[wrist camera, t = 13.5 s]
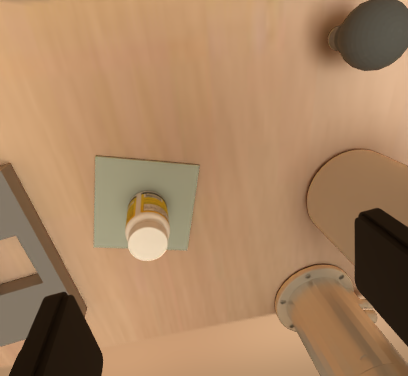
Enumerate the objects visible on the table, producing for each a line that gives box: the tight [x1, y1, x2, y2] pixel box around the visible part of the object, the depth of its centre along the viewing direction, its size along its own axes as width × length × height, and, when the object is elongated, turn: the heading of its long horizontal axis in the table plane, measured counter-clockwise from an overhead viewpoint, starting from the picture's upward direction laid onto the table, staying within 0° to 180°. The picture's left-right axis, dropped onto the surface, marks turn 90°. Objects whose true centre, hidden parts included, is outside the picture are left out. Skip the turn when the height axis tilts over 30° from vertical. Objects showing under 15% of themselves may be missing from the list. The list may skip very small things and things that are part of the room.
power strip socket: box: [0, 163, 87, 347], centre depth 38 cm, size 22×11×3 cm, turn 14°
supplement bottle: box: [125, 191, 170, 261], centre depth 36 cm, size 5×5×8 cm
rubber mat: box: [94, 156, 200, 250], centre depth 40 cm, size 12×12×1 cm
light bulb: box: [328, 0, 408, 71], centre depth 31 cm, size 6×6×10 cm
